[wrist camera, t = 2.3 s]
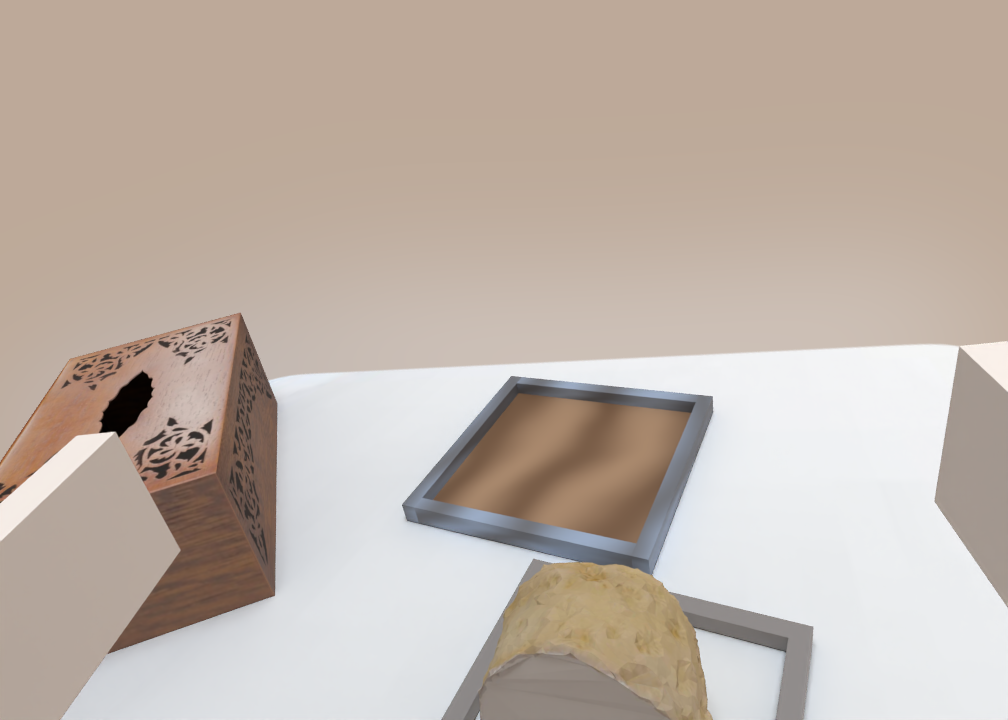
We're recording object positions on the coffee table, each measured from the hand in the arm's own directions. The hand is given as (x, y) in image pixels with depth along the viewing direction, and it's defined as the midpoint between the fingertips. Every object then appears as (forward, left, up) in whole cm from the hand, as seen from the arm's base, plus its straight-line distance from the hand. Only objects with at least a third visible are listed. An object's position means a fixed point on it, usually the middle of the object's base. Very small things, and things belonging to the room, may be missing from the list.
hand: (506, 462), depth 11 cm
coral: (-4, +9, -24) cm, 25 cm away
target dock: (-13, +27, -23) cm, 38 cm away
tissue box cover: (-40, +15, -24) cm, 49 cm away
